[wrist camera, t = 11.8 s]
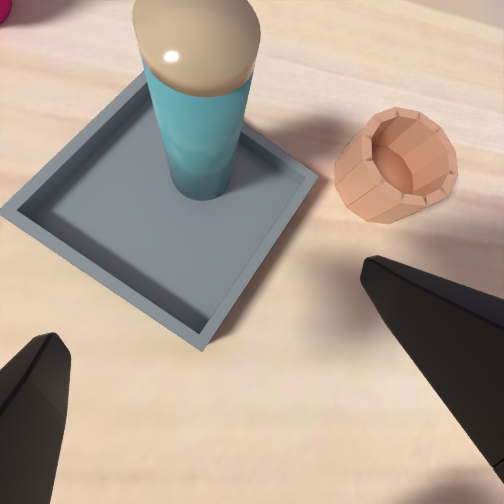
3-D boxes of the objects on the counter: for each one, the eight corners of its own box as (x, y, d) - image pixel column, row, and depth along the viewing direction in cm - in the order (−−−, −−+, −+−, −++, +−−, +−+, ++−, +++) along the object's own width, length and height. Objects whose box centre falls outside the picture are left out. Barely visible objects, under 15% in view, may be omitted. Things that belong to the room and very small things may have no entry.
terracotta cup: (428, 174, 27) (470, 148, 23) (393, 240, 25) (433, 226, 21) (359, 125, 27) (390, 90, 23) (319, 187, 25) (343, 162, 20)
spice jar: (234, 152, 23) (266, -8, 11) (226, 205, 22) (253, 90, 10) (175, 140, 22) (146, -42, 11) (165, 195, 21) (119, 58, 10)
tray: (307, 189, 24) (319, 176, 22) (202, 346, 20) (202, 352, 18) (160, 84, 24) (155, 59, 22) (21, 224, 20) (-4, 212, 17)
